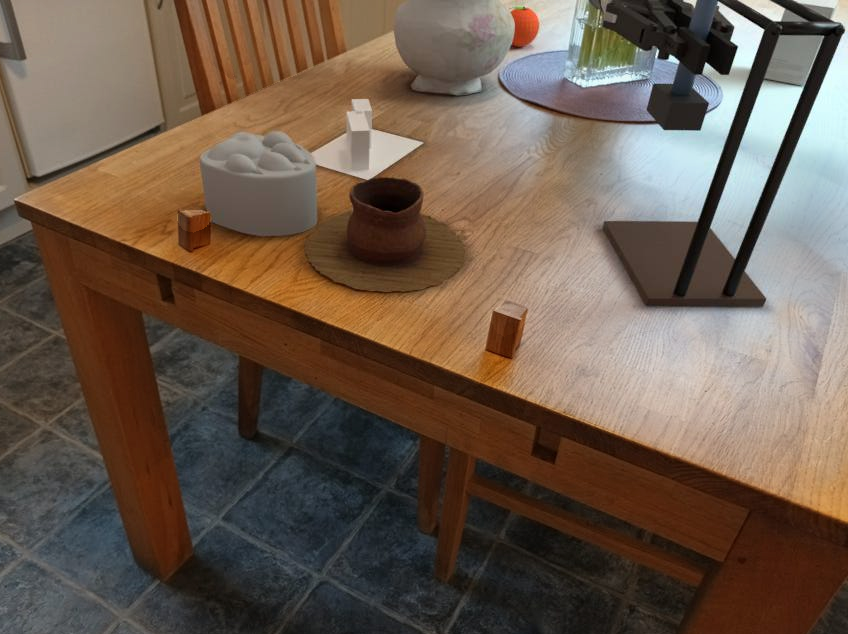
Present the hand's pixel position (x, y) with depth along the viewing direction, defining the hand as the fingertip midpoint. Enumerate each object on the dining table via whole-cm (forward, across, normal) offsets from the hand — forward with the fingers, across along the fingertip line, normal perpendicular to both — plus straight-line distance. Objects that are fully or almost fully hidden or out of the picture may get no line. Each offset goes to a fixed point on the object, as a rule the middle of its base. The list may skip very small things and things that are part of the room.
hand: (715, 60), depth 70 cm
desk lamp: (+5, 0, -20) cm, 20 cm away
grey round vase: (-53, +18, -20) cm, 60 cm away
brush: (-6, 0, -8) cm, 10 cm away
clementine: (-76, +3, -20) cm, 78 cm away
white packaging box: (-59, -42, -20) cm, 75 cm away
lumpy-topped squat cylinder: (-6, +46, -20) cm, 50 cm away
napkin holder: (-24, +34, -20) cm, 46 cm away
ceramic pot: (+2, +32, -20) cm, 38 cm away
